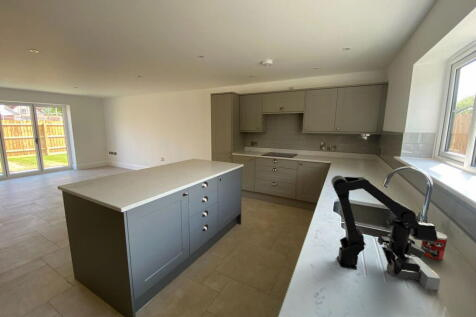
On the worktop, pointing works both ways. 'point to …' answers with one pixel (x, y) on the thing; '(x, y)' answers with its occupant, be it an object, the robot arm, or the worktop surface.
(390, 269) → the plug
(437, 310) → the worktop surface
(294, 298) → the worktop surface
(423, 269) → the housing
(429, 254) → the canned food
